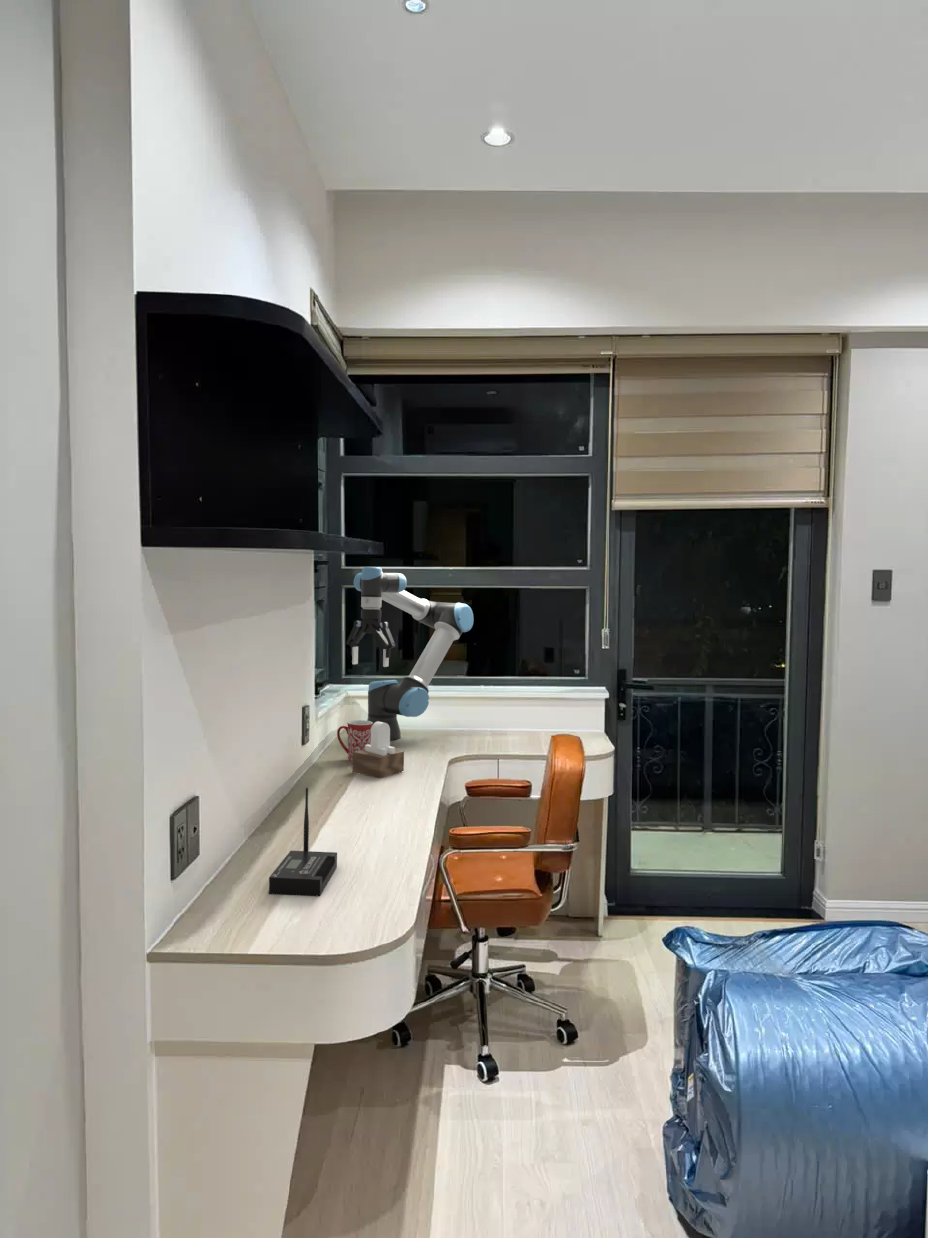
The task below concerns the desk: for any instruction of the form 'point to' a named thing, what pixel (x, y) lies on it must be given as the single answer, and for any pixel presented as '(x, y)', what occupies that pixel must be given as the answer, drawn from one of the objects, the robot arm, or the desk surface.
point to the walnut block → (377, 763)
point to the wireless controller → (303, 869)
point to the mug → (356, 736)
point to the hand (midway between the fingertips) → (370, 665)
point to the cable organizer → (380, 739)
